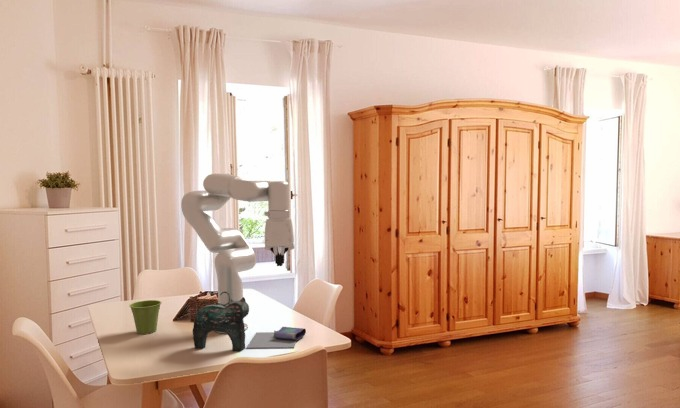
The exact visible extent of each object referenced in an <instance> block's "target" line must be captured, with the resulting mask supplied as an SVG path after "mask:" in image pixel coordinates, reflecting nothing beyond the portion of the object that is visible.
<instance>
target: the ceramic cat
mask: <svg viewBox="0 0 680 408" xmlns="http://www.w3.org/2000/svg"><path fill="white" fill-rule="evenodd" d="M222 293H227V294H228V295H229V293H228V292H222ZM222 293H221V294H222ZM221 294H220V296H221ZM229 302H230V296H229ZM229 302H228V303H227V304H228V305H227V304H220V303H218V302H217V301H214V300H206V301H203V302H202V303H200V305H198V308H197V312H196V314H195V316H194V320H193V328H192V336H193V338H192V339H193V346H194V349H196V350H203V349H205V348H206V346H207V345H206V343H207V338H208V334H209V333H211V332H216V331H218V332H223V333H222V334H226V333H227V335H228V337H229V339H230V341H231V345H232V346H231V347H232V352H242V351H244V350H245V349H246V332H245V331H246V330H245V329H244V323H245V322H243V318H245V317H247V316H248V314H249V312H250V306H249V304H248V302H246V299H245V297H244V296H243V298H242V299H241V300H239V301H234V300H233V299H231V302H230V303H229ZM206 303H214V304H207V305H205V306H203V307H202V305H204V304H206ZM200 308H201V309H200ZM244 330H245V331H244ZM218 332H217V333H218Z"/></svg>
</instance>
